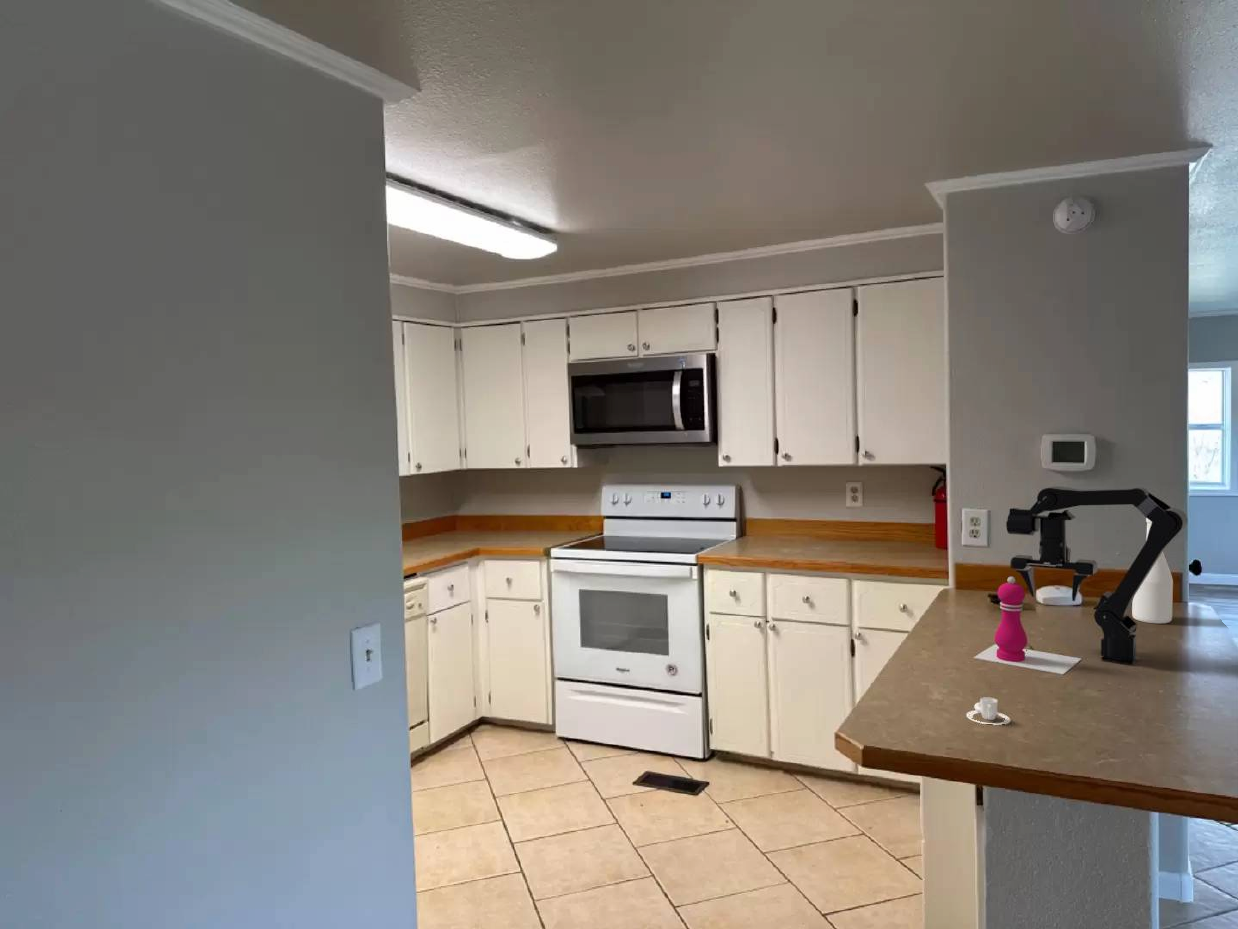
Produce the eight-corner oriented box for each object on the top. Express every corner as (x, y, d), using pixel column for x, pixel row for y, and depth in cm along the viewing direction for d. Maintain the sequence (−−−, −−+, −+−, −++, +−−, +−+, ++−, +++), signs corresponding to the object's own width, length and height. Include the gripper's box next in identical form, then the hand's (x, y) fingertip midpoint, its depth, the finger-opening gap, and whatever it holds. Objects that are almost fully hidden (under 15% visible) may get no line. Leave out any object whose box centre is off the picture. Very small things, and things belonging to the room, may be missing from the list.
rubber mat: (1081, 659, 201) (1081, 658, 201) (1063, 674, 190) (1063, 673, 190) (995, 644, 215) (995, 644, 214) (973, 658, 204) (973, 657, 204)
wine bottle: (1124, 618, 238) (1126, 514, 236) (1145, 614, 242) (1147, 511, 240) (1158, 626, 229) (1160, 517, 227) (1179, 621, 233) (1182, 515, 231)
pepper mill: (1023, 664, 197) (1024, 581, 196) (991, 659, 202) (991, 577, 200) (1030, 656, 203) (1031, 575, 202) (998, 652, 207) (999, 572, 206)
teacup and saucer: (974, 708, 171) (974, 689, 171) (1016, 717, 166) (1016, 697, 166) (960, 721, 164) (961, 701, 164) (1003, 730, 159) (1004, 710, 159)
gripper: (1101, 535, 208) (1102, 597, 209) (1021, 530, 220) (1022, 589, 221) (1092, 541, 200) (1092, 605, 201) (1009, 536, 212) (1010, 596, 213)
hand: (1053, 598), depth 209 cm, fingers open, 9 cm apart
